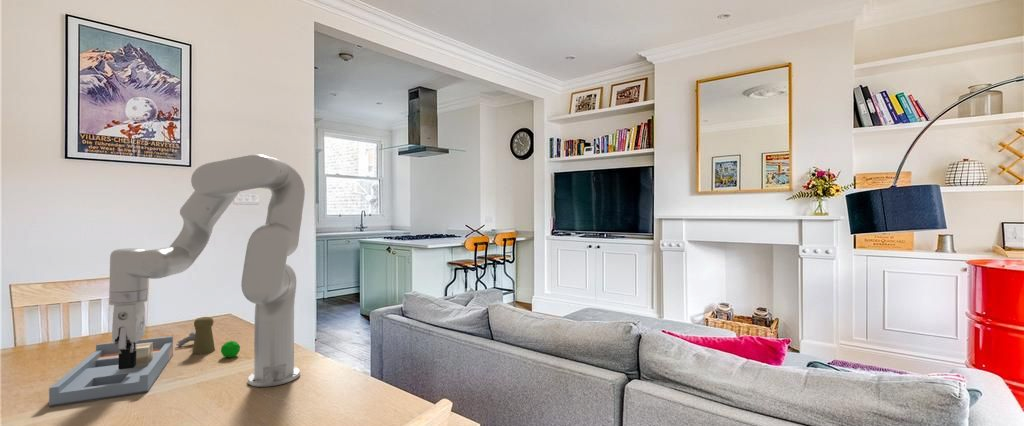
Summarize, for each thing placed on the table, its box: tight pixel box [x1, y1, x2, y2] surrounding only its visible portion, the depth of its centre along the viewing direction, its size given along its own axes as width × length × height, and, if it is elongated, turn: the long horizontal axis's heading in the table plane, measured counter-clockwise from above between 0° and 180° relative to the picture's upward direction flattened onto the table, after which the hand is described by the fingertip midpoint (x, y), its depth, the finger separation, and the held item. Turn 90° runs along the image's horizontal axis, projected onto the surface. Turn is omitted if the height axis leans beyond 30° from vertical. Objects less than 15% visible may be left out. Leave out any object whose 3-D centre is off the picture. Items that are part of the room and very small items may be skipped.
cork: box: [192, 316, 216, 355], centre depth 143 cm, size 6×6×11 cm
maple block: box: [134, 342, 153, 367], centre depth 123 cm, size 5×5×5 cm
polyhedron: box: [220, 340, 241, 359], centre depth 138 cm, size 5×5×5 cm
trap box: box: [48, 335, 174, 408], centre depth 121 cm, size 32×18×6 cm, turn 28°
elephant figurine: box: [176, 327, 196, 348], centre depth 151 cm, size 10×6×9 cm
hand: (127, 367), depth 115 cm, fingers closed
